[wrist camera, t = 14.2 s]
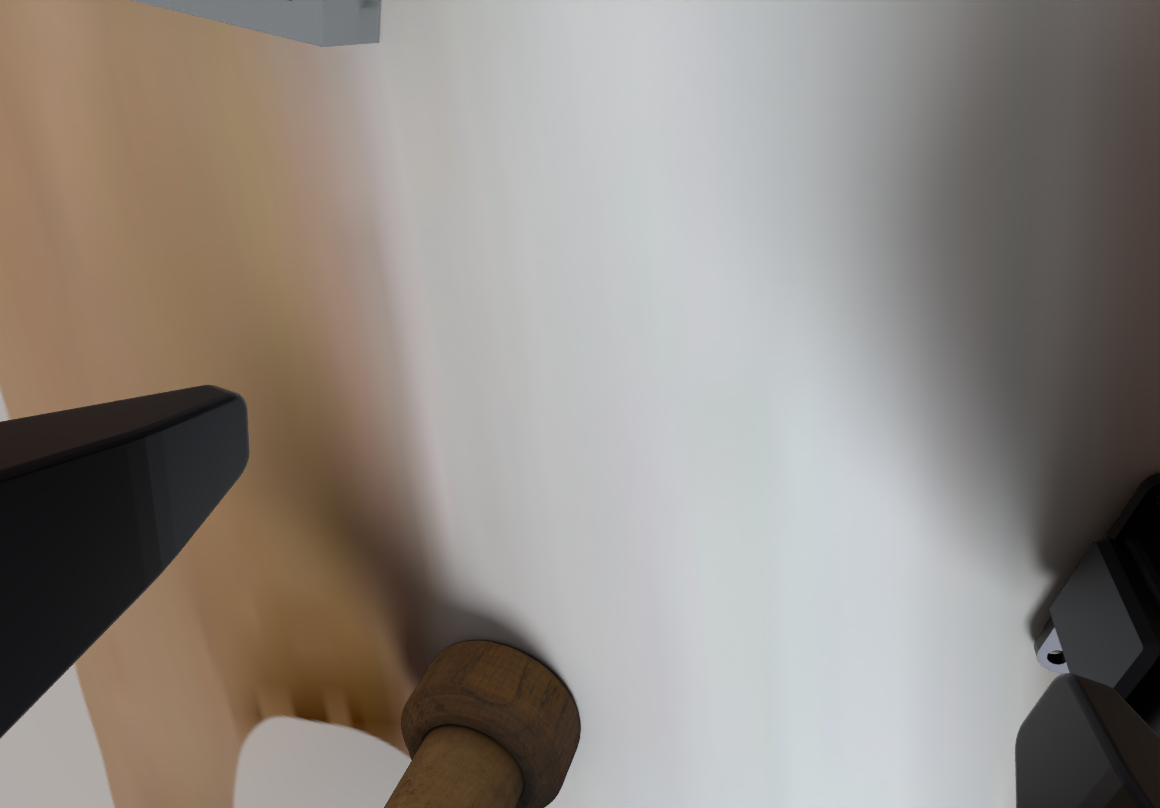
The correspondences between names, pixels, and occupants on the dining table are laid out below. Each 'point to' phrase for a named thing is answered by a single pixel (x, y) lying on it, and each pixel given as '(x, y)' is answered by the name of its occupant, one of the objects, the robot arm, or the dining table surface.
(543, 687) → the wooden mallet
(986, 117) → the dining table surface
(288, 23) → the tray
